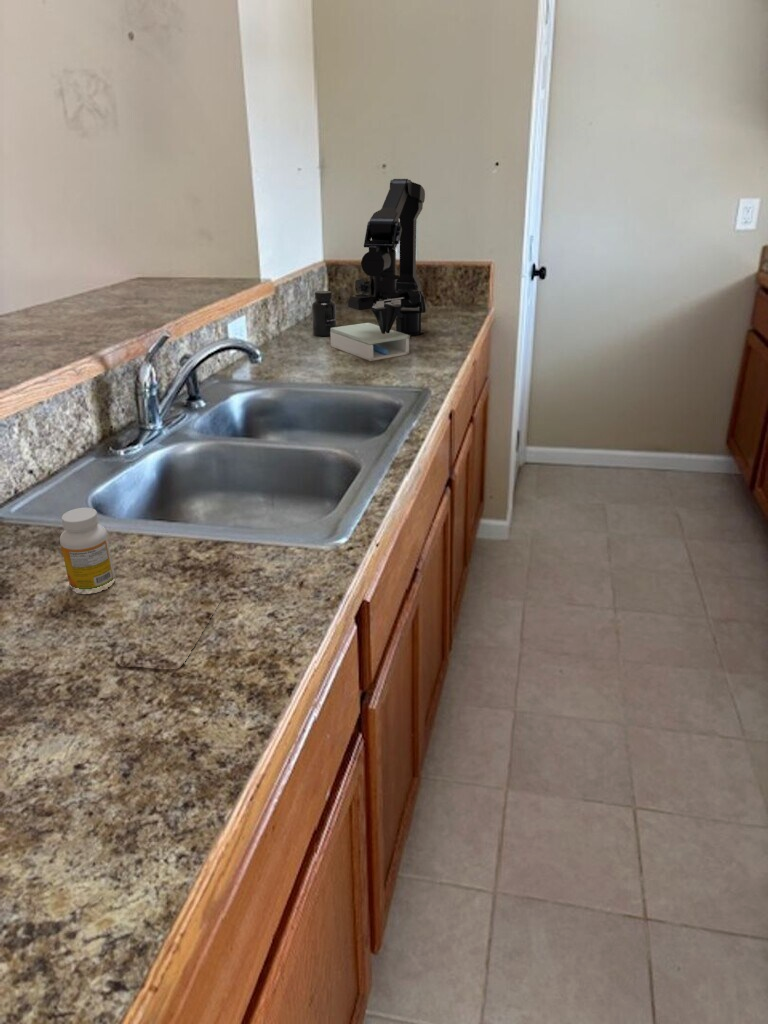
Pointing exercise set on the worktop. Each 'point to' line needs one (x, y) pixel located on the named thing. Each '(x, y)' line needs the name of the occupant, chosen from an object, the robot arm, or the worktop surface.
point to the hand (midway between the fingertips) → (385, 333)
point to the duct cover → (368, 333)
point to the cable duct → (370, 347)
